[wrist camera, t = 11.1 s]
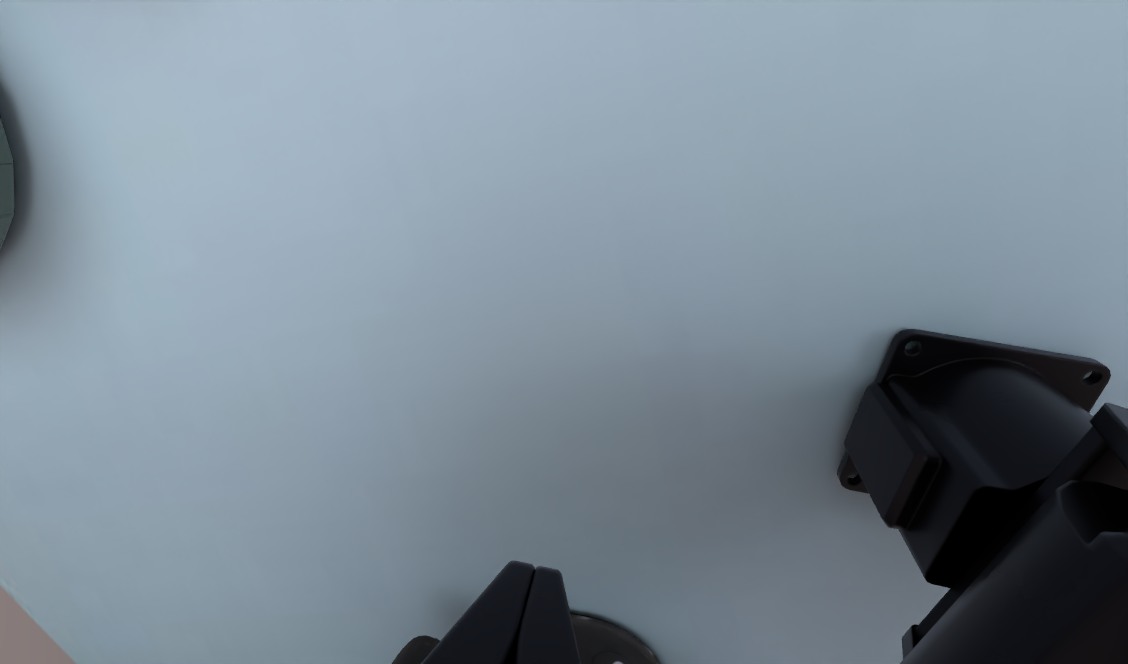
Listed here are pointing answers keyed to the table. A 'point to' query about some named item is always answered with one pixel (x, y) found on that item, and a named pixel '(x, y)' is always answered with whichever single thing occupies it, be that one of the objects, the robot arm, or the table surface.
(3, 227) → the basin
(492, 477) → the table surface
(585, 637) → the milk frother
